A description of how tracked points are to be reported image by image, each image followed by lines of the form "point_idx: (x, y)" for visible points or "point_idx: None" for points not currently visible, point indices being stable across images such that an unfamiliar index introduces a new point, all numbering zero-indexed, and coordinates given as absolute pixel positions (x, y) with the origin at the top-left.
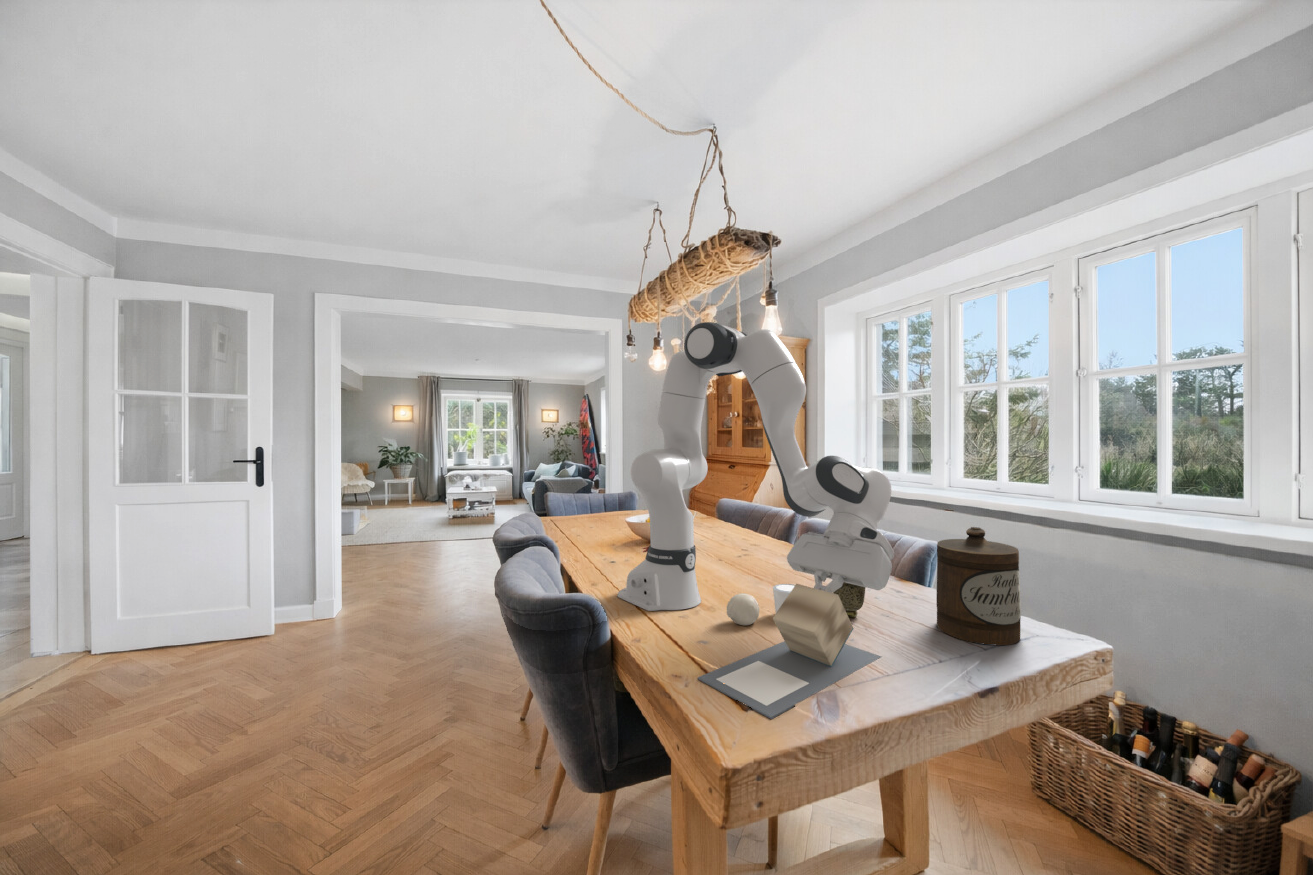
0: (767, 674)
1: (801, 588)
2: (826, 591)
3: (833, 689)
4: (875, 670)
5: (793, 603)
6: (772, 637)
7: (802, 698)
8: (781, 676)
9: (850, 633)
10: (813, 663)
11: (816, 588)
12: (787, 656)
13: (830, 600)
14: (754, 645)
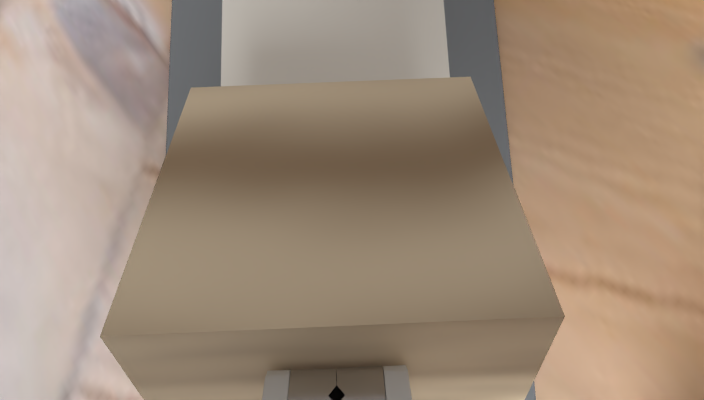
0: (353, 34)
1: (473, 287)
2: (267, 391)
3: (152, 137)
4: (118, 396)
5: (426, 167)
6: (599, 323)
7: (178, 4)
8: (314, 61)
9: None
10: None
11: (380, 391)
12: None
13: (154, 264)
14: (576, 193)
